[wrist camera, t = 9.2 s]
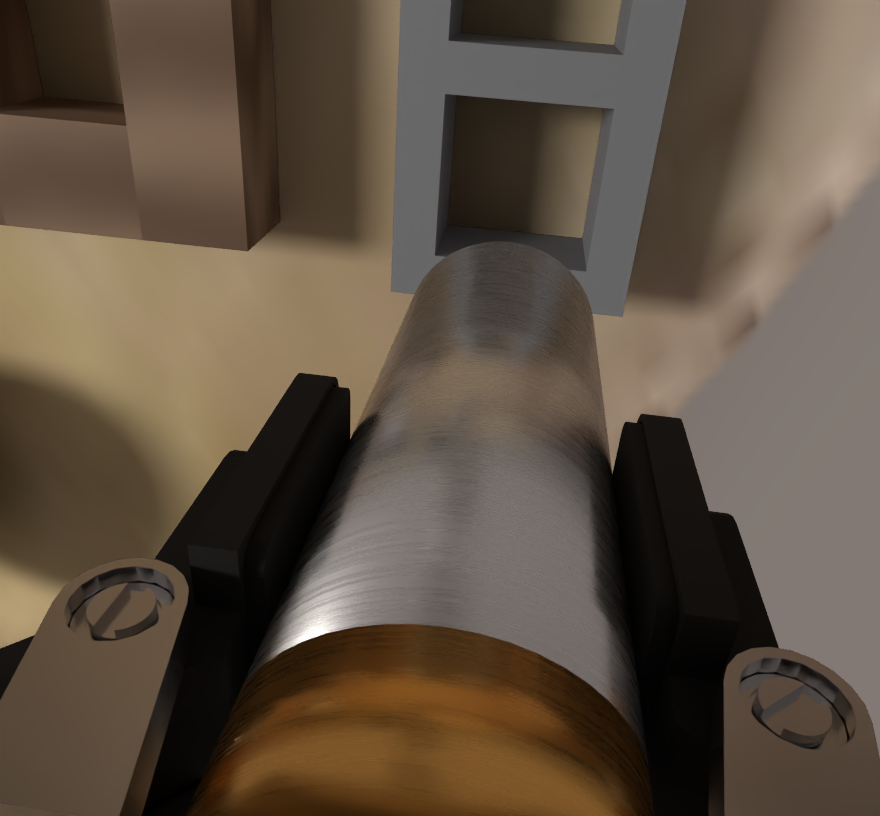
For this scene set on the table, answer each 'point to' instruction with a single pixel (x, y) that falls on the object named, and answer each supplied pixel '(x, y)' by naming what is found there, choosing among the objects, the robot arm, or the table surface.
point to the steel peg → (456, 582)
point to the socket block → (148, 129)
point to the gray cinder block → (536, 80)
